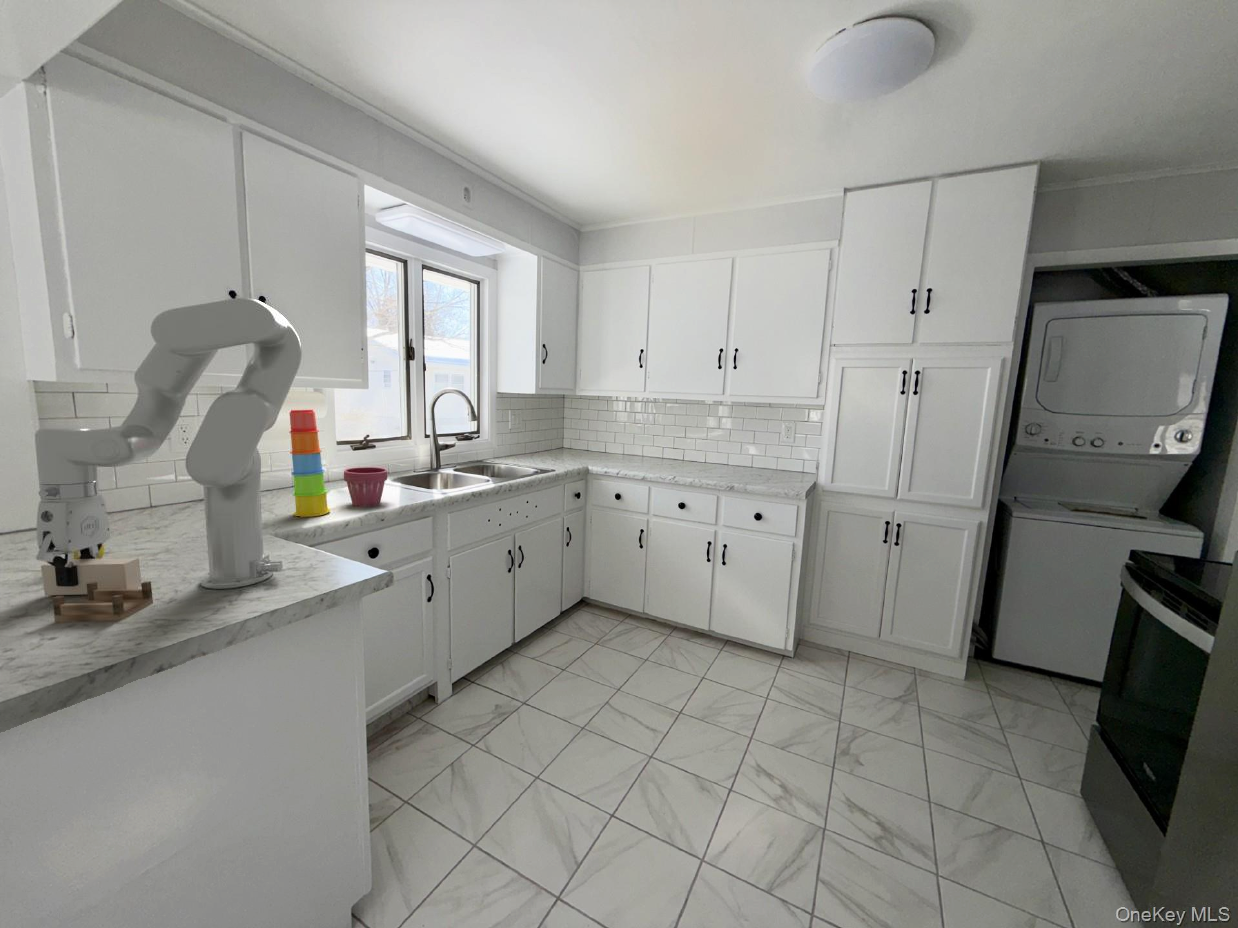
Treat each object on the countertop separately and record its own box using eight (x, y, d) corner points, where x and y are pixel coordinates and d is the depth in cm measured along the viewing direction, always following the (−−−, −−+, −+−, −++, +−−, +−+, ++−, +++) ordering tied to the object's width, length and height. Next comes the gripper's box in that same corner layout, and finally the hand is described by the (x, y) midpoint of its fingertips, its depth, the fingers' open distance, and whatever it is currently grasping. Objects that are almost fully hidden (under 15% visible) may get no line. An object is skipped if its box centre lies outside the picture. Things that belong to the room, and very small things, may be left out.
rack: (153, 602, 94) (151, 581, 93) (120, 620, 87) (118, 597, 86) (93, 603, 92) (91, 581, 92) (55, 621, 85) (52, 598, 85)
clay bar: (141, 586, 99) (138, 558, 99) (127, 593, 96) (124, 563, 95) (62, 588, 97) (58, 559, 97) (44, 595, 94) (40, 565, 93)
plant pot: (396, 503, 181) (395, 469, 179) (359, 510, 169) (358, 474, 167) (373, 498, 188) (372, 465, 187) (336, 504, 176) (335, 469, 175)
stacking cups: (308, 519, 156) (304, 410, 151) (286, 514, 159) (281, 409, 154) (337, 512, 165) (333, 410, 161) (315, 508, 169) (311, 408, 164)
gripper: (50, 500, 86) (58, 599, 89) (128, 483, 102) (134, 567, 105) (-1, 499, 85) (10, 599, 87) (87, 482, 101) (93, 567, 104)
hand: (77, 580), depth 96 cm, fingers closed on clay bar, 3 cm apart
